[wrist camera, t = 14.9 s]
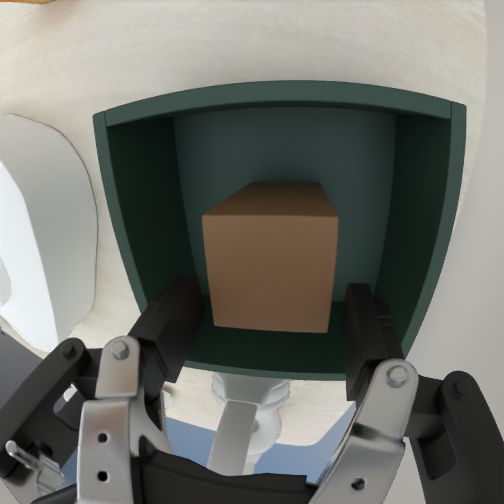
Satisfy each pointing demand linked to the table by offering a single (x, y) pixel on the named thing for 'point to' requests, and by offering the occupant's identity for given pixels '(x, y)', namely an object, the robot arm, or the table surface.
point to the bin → (287, 170)
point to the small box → (28, 1)
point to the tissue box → (44, 233)
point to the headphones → (245, 421)
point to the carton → (272, 257)
